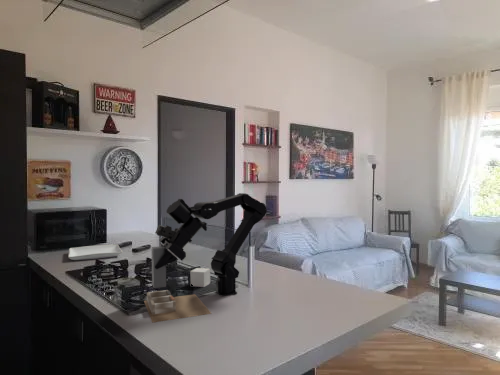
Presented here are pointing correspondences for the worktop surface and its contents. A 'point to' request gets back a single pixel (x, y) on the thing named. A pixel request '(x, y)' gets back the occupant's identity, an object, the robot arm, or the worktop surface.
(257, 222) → the robot arm
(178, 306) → the cord organiser
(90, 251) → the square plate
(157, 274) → the tall gray block
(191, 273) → the white cube
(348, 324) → the worktop surface
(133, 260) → the worktop surface
